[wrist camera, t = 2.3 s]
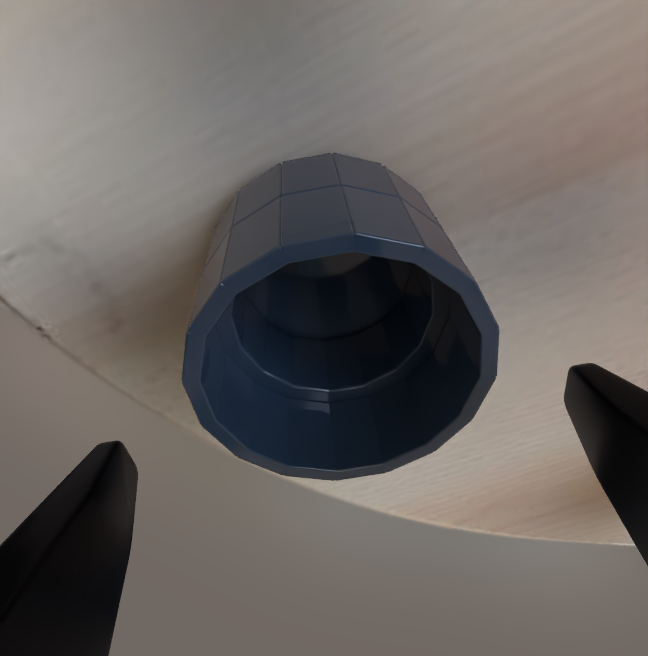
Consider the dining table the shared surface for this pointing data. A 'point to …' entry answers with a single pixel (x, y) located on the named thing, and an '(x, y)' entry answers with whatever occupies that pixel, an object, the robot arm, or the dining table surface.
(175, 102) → the dining table surface
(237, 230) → the blue cup
